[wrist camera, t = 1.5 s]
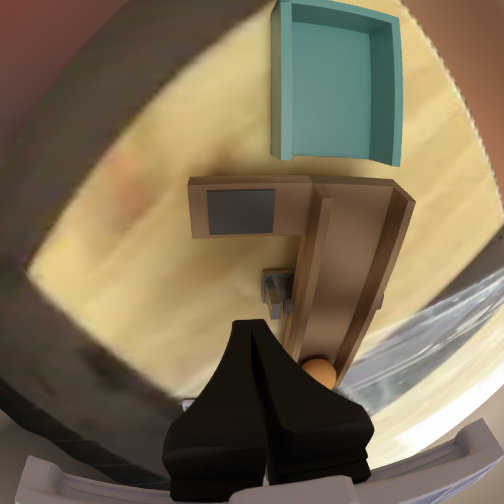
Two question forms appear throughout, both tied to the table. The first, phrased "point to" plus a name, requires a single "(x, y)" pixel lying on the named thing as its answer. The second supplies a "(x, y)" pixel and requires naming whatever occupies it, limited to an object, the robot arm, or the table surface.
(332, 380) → the ball
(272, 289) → the fulcrum
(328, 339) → the lever
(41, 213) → the table surface
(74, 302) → the table surface
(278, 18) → the teal open-ended tray
